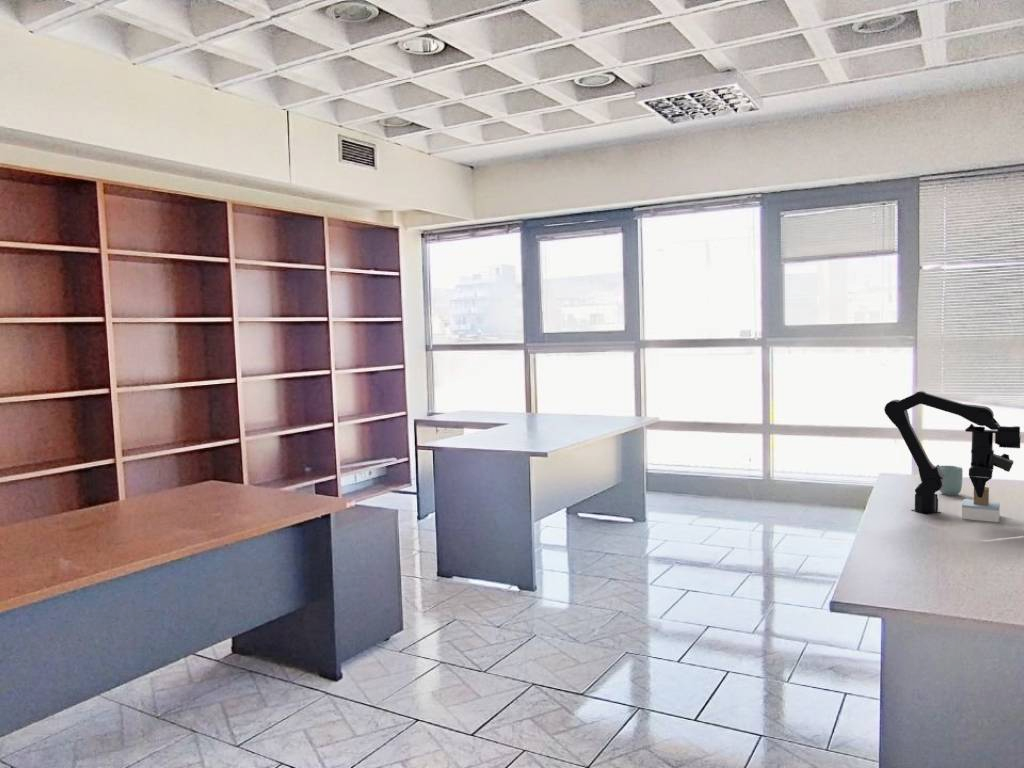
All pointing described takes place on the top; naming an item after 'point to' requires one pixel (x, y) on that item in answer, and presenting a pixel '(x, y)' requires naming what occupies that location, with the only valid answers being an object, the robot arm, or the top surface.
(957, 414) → the robot arm
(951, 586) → the top surface
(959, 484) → the cup
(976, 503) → the lid
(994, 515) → the box
